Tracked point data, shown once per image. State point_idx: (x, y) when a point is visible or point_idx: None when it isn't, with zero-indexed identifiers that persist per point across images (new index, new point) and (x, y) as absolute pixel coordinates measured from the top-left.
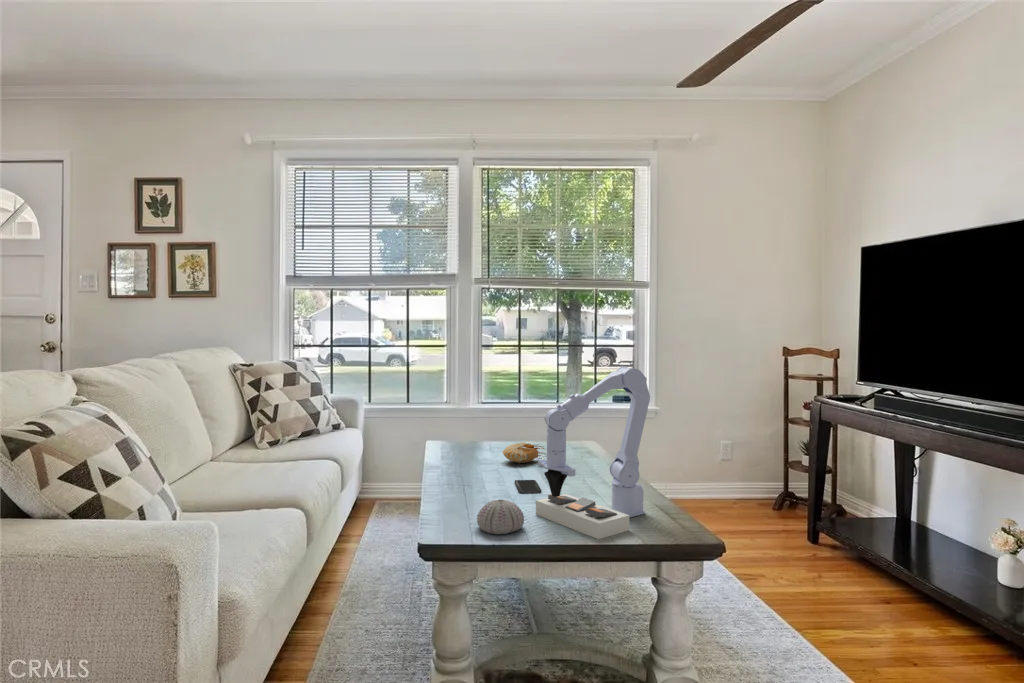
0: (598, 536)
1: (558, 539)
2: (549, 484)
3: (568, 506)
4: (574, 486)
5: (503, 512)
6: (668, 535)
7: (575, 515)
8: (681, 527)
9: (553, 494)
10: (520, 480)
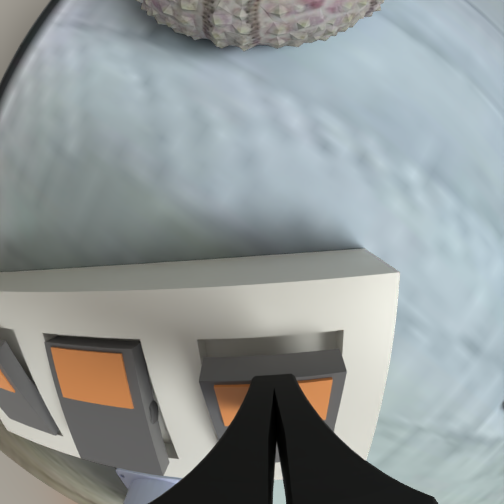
0: None
1: (17, 138)
2: (321, 433)
3: (111, 354)
4: (451, 489)
5: None
6: None
7: (14, 290)
8: (46, 474)
9: (263, 383)
10: None
